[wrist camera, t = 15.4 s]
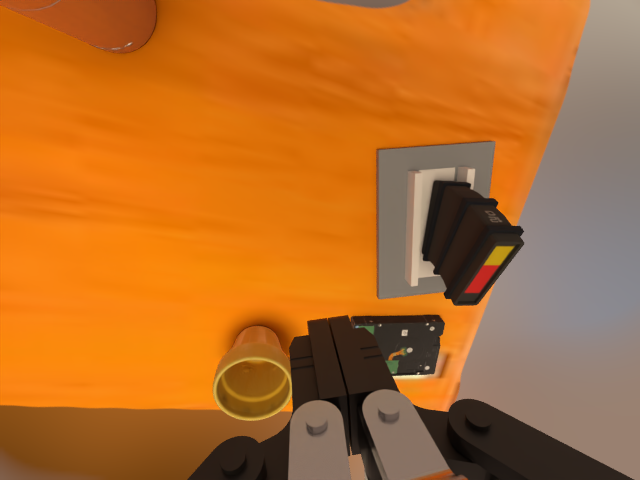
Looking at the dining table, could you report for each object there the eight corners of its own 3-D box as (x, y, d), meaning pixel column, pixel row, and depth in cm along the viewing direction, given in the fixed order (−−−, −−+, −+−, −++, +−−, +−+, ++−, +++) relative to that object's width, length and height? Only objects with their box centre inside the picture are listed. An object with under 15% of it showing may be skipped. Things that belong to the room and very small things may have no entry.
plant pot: (304, 346, 52) (309, 393, 43) (253, 380, 53) (247, 434, 44) (263, 302, 48) (259, 343, 39) (210, 339, 50) (193, 388, 40)
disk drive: (437, 311, 53) (349, 314, 51) (445, 321, 51) (353, 325, 49) (428, 363, 57) (345, 368, 55) (435, 374, 54) (348, 380, 52)
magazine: (468, 157, 42) (530, 239, 31) (432, 232, 51) (472, 314, 40) (440, 156, 41) (494, 238, 31) (409, 231, 50) (443, 315, 40)
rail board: (376, 149, 43) (384, 151, 40) (490, 141, 44) (507, 142, 41) (376, 296, 50) (383, 307, 47) (474, 285, 52) (488, 295, 48)
